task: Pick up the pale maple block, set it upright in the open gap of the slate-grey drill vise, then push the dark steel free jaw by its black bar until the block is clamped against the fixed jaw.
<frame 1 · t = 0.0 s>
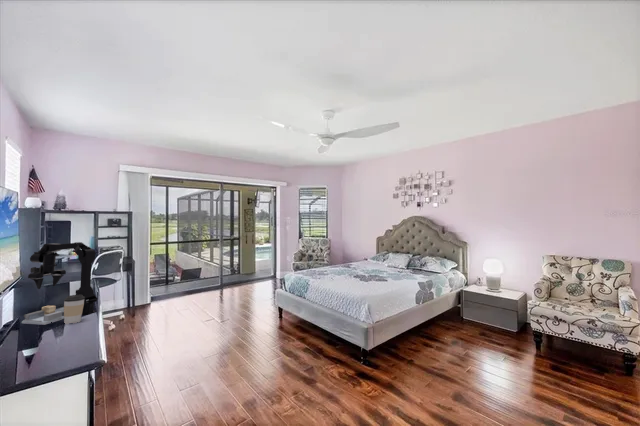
hand: (46, 287, 176), 15 cm above the table, fingers open, 9 cm apart
coffee cup: (72, 322, 157), on the table
vise bed: (43, 320, 157), on the table
free jaw: (33, 315, 158), point 3 cm above the table, slide at 0.0 cm
maple block: (47, 315, 167), on the table
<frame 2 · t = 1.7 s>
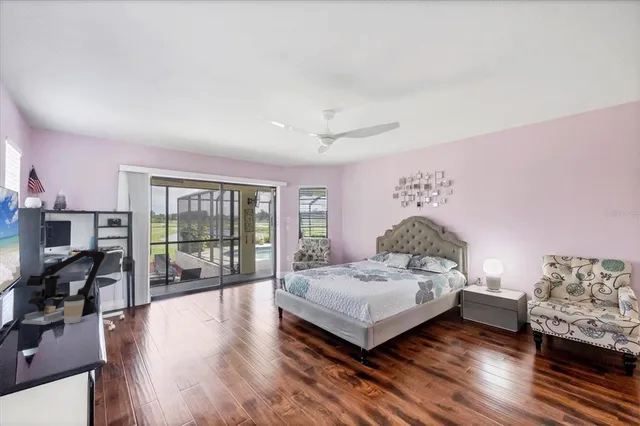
hand: (47, 312, 167), 2 cm above the table, fingers open, 7 cm apart
free jaw: (33, 315, 158), point 3 cm above the table, slide at 0.0 cm, touching gripper
everything else where it was.
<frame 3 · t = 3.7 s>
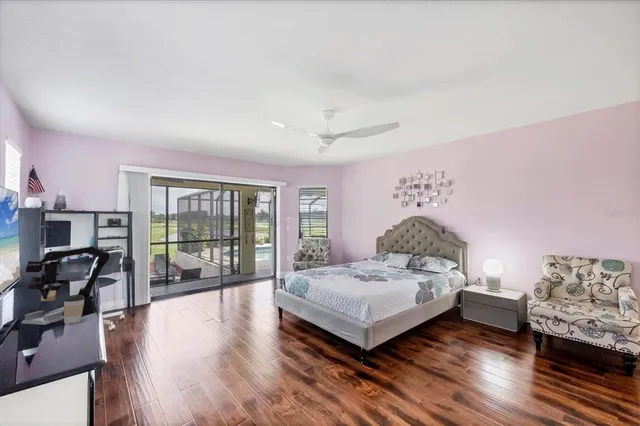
hand: (48, 298, 164), 11 cm above the table, fingers closed on maple block, 4 cm apart
free jaw: (33, 315, 158), point 3 cm above the table, slide at 0.0 cm
maple block: (48, 300, 164), point 10 cm above the table, touching gripper
everything else where it was.
when the fingers open (3 cm above the table, at t = 5.2 s): maple block drops 1 cm, resting on vise bed.
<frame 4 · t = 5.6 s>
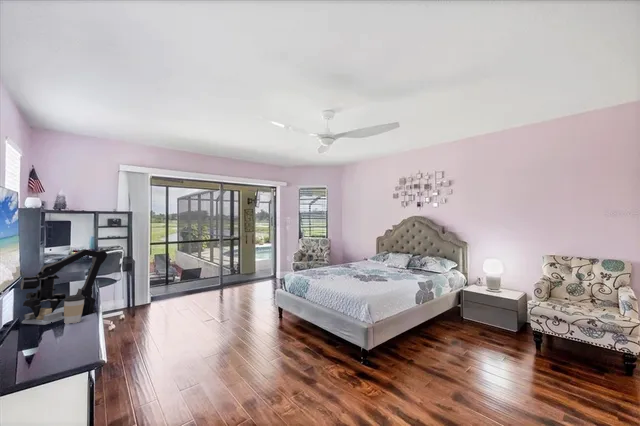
hand: (44, 314, 157), 3 cm above the table, fingers open, 8 cm apart
maple block: (43, 318, 157), point 1 cm above the table, touching vise bed
everything else where it was.
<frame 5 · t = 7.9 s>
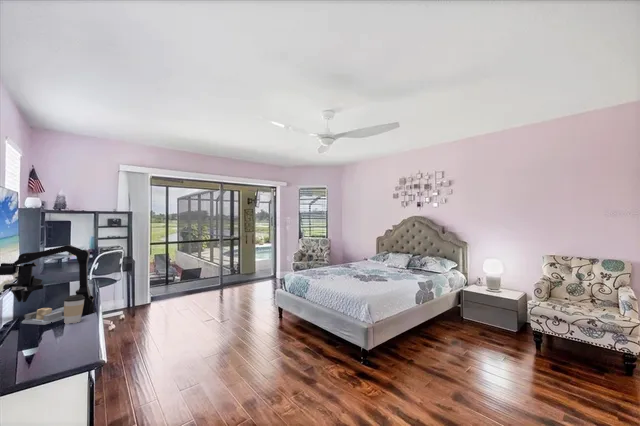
hand: (22, 301, 159), 10 cm above the table, fingers open, 3 cm apart
nothing on the table moved.
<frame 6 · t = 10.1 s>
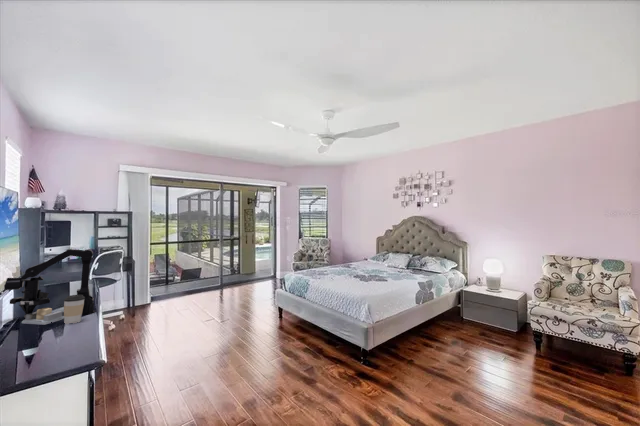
hand: (28, 316, 158), 2 cm above the table, fingers closed
free jaw: (34, 315, 158), point 3 cm above the table, slide at 0.3 cm, touching gripper
everything else where it was.
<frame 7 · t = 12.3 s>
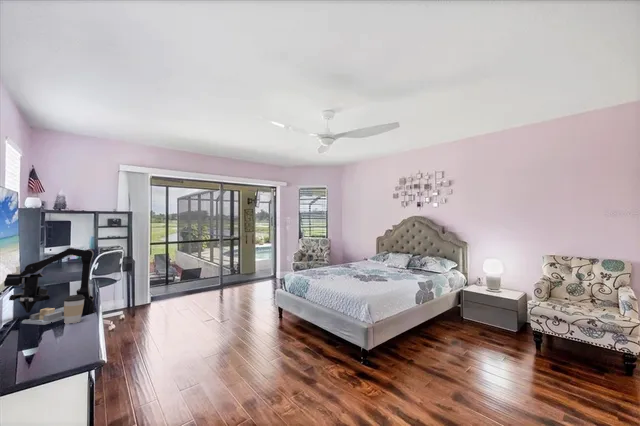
hand: (28, 312, 159), 4 cm above the table, fingers closed
free jaw: (39, 315, 158), point 3 cm above the table, slide at 3.5 cm, touching maple block
maple block: (46, 318, 157), point 1 cm above the table, touching free jaw, vise bed
everything else where it was.
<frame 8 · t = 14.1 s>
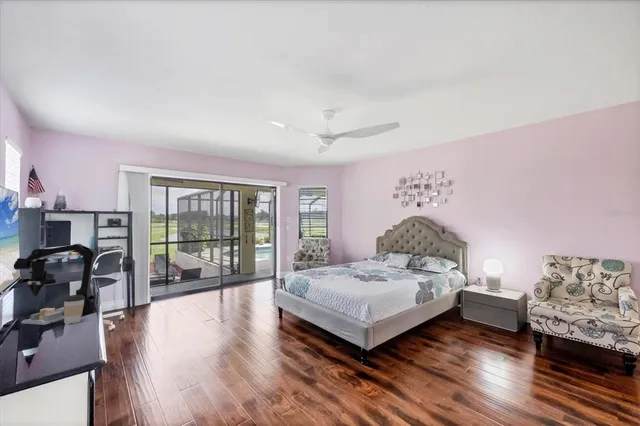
hand: (35, 295, 166), 12 cm above the table, fingers closed
nothing on the table moved.
at the end: free jaw slide at 3.5 cm; maple block 0.0 cm from the target spot on the vise bed, point 1.2 cm above the vise bed's base; maple block tilted 0° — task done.
